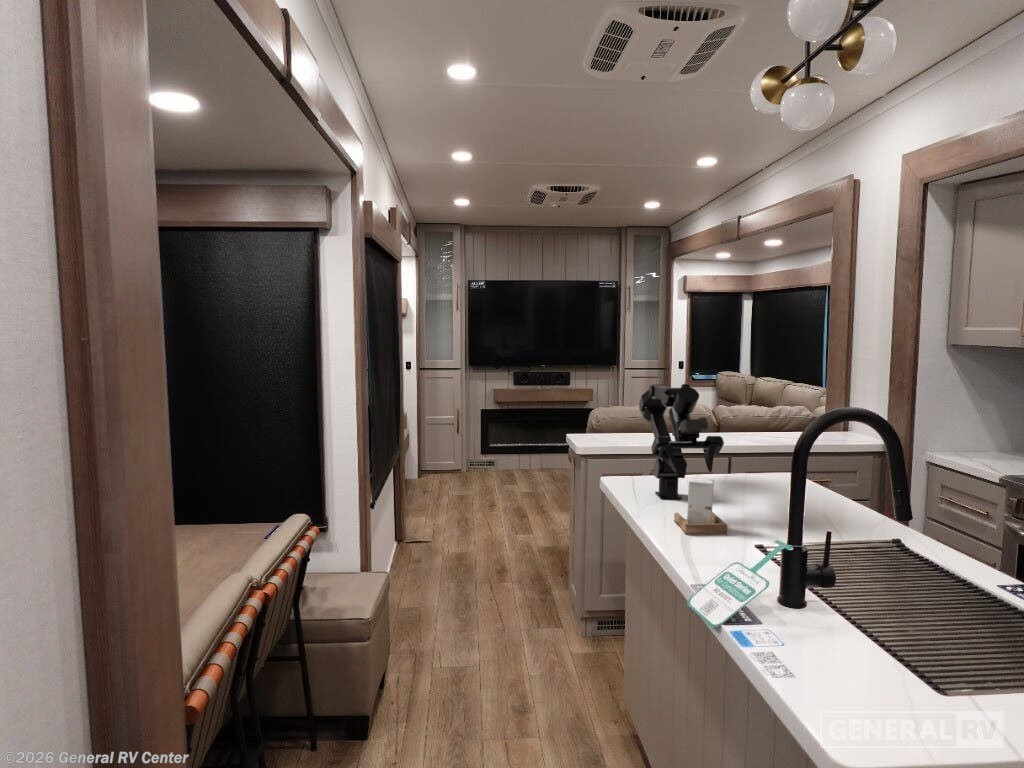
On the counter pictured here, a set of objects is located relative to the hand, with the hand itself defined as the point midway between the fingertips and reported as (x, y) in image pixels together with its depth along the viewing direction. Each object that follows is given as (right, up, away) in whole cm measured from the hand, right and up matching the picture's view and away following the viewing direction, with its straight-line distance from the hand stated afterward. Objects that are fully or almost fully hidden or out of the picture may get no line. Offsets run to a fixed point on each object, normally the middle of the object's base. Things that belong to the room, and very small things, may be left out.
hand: (693, 471), depth 159 cm
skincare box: (0, -14, -4) cm, 14 cm away
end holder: (0, -14, -4) cm, 15 cm away
